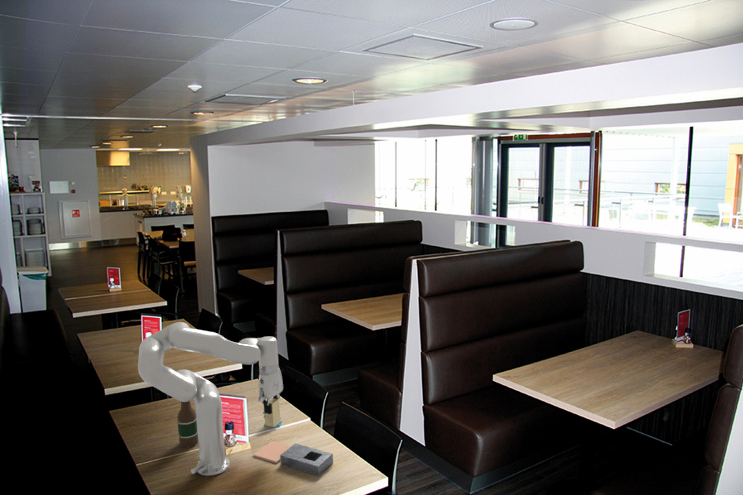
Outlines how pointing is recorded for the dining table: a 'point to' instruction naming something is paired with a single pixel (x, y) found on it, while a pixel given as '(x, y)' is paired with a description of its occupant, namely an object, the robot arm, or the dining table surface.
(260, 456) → the terracotta tile
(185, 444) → the beer bottle
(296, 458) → the grey block with hole
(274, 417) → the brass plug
